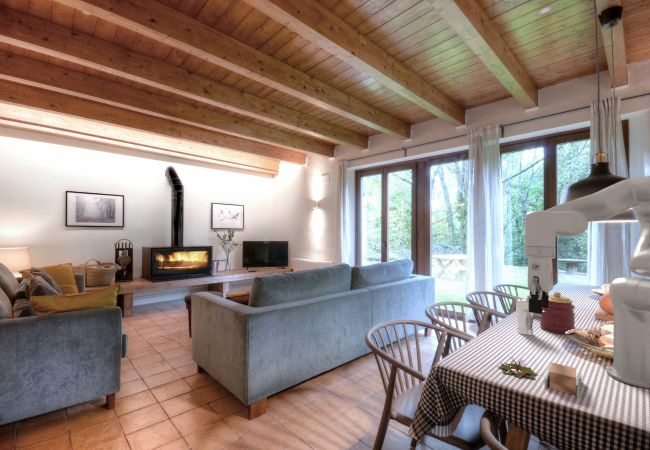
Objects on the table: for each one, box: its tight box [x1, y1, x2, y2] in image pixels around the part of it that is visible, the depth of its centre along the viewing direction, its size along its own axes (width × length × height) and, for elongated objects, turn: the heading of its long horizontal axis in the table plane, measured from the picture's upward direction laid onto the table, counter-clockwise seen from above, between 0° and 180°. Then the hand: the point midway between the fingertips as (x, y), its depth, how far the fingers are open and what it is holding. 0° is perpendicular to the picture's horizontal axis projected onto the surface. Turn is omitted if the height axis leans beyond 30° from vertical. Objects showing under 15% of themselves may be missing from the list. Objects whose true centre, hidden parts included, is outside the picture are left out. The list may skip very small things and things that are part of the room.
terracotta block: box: [549, 361, 577, 396], centre depth 90 cm, size 6×8×5 cm
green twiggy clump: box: [498, 356, 538, 380], centre depth 99 cm, size 12×12×5 cm
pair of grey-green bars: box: [544, 365, 582, 398], centre depth 91 cm, size 8×12×2 cm, turn 138°
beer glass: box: [515, 297, 535, 337], centre depth 136 cm, size 7×7×15 cm
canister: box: [539, 291, 576, 335], centre depth 141 cm, size 13×13×18 cm
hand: (538, 310), depth 90 cm, fingers open, 9 cm apart
